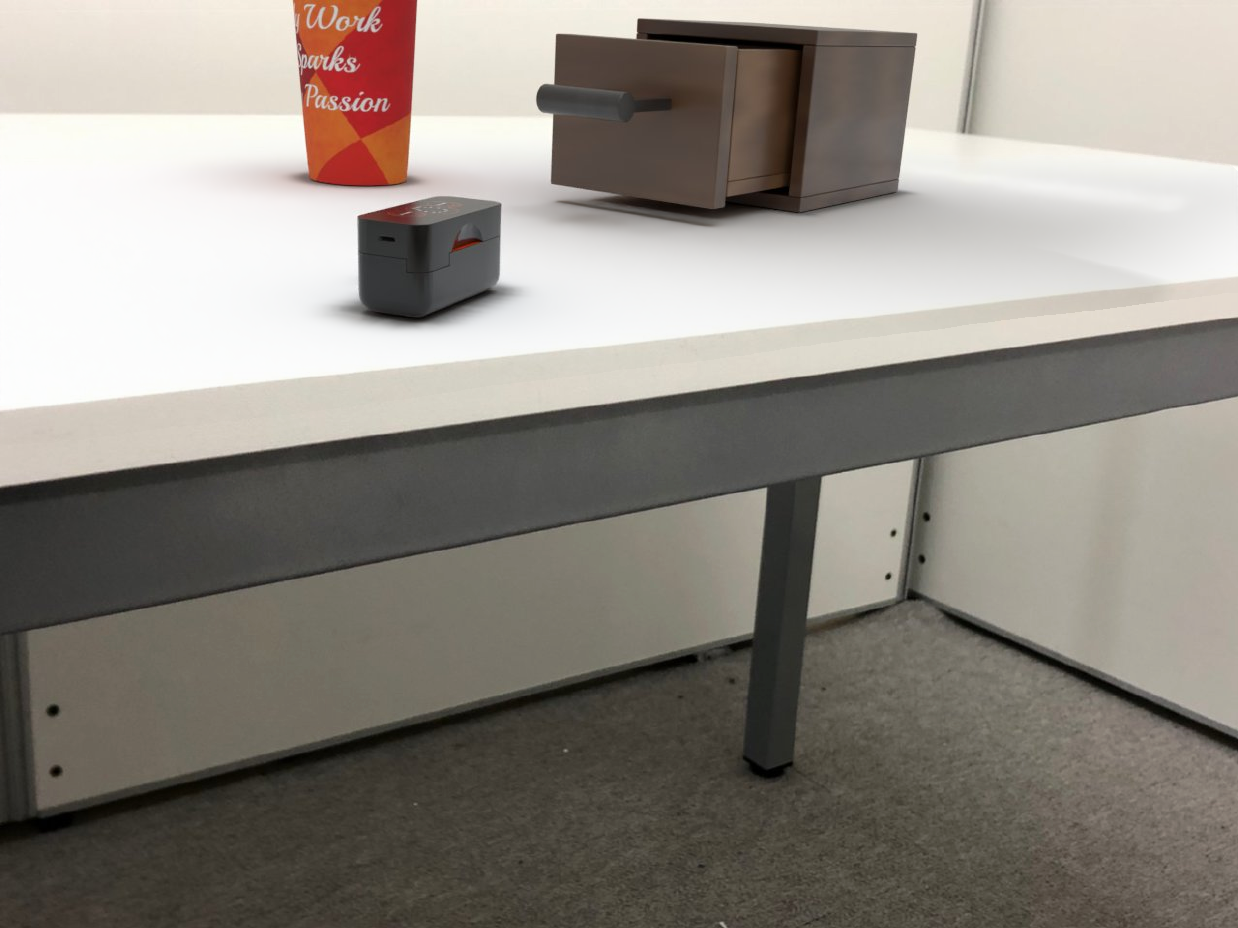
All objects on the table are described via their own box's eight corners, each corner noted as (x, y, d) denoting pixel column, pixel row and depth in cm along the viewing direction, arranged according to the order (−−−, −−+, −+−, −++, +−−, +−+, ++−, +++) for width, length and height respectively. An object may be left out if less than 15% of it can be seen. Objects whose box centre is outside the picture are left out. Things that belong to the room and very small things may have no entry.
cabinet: (799, 212, 70) (817, 30, 67) (627, 187, 76) (636, 18, 73) (897, 191, 81) (918, 33, 77) (740, 170, 87) (752, 22, 83)
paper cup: (261, 176, 72) (249, -91, 67) (354, 166, 78) (350, -80, 73) (364, 193, 68) (360, -89, 64) (454, 181, 75) (456, -77, 70)
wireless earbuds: (514, 285, 49) (516, 200, 48) (423, 323, 42) (423, 226, 41) (407, 270, 50) (407, 187, 49) (304, 305, 44) (301, 211, 43)
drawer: (659, 219, 60) (671, 46, 57) (491, 191, 65) (494, 32, 63) (824, 188, 73) (839, 47, 71) (673, 168, 79) (682, 36, 76)
